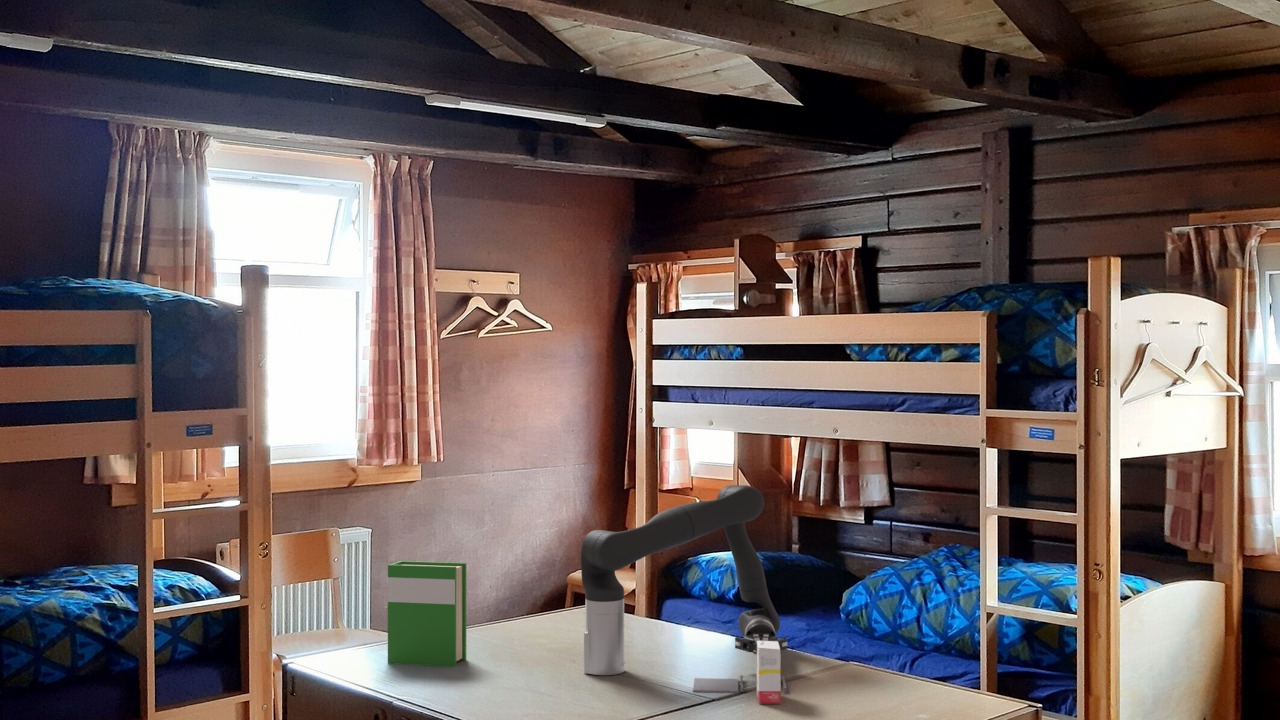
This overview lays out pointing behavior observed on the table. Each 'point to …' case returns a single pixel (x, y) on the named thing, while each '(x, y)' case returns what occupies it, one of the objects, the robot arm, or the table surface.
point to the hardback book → (426, 613)
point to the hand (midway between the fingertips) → (761, 651)
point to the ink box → (768, 672)
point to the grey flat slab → (721, 685)
